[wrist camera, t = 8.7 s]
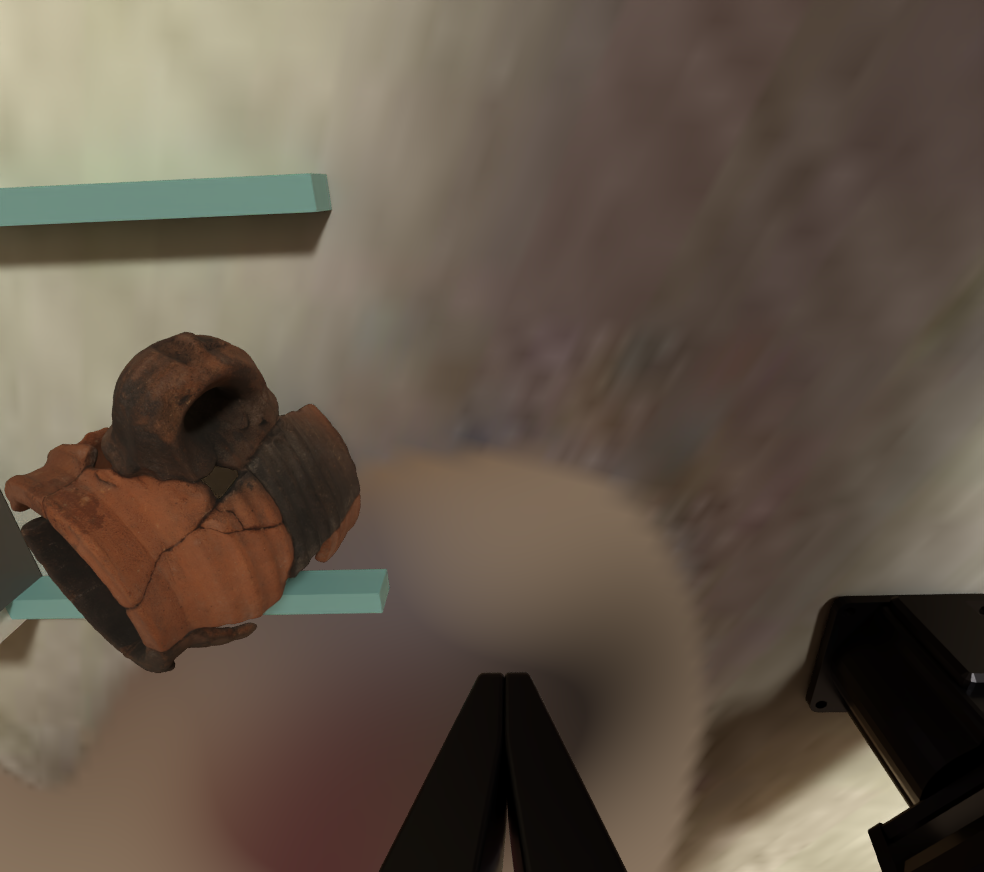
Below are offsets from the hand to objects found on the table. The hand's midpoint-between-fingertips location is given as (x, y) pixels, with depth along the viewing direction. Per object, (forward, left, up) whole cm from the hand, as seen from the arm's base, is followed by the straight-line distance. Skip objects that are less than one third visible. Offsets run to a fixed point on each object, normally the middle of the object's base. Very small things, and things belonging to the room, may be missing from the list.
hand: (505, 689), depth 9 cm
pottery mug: (-1, +10, -12) cm, 16 cm away
